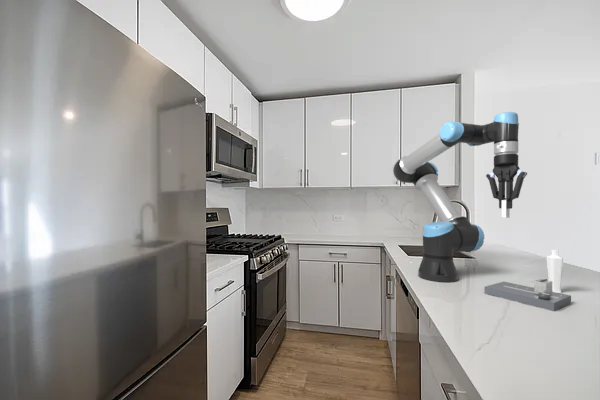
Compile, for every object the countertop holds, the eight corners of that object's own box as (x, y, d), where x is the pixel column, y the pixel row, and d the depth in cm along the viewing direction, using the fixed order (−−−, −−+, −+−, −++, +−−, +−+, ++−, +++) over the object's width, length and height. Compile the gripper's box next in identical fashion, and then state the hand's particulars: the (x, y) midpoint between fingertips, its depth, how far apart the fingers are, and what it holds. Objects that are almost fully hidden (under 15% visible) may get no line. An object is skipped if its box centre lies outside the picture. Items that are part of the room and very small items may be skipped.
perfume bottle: (567, 293, 102) (567, 251, 102) (554, 293, 102) (554, 250, 102) (556, 289, 106) (556, 249, 107) (544, 289, 106) (544, 248, 107)
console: (484, 293, 100) (484, 281, 100) (503, 287, 108) (503, 277, 108) (553, 311, 84) (553, 297, 84) (571, 303, 91) (571, 290, 91)
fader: (534, 293, 92) (534, 279, 92) (540, 291, 94) (540, 278, 94) (546, 296, 89) (546, 282, 89) (552, 293, 92) (552, 280, 92)
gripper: (482, 156, 111) (481, 216, 111) (521, 151, 100) (521, 218, 100) (491, 157, 115) (491, 216, 115) (531, 153, 104) (530, 218, 104)
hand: (505, 217), depth 108 cm, fingers closed
